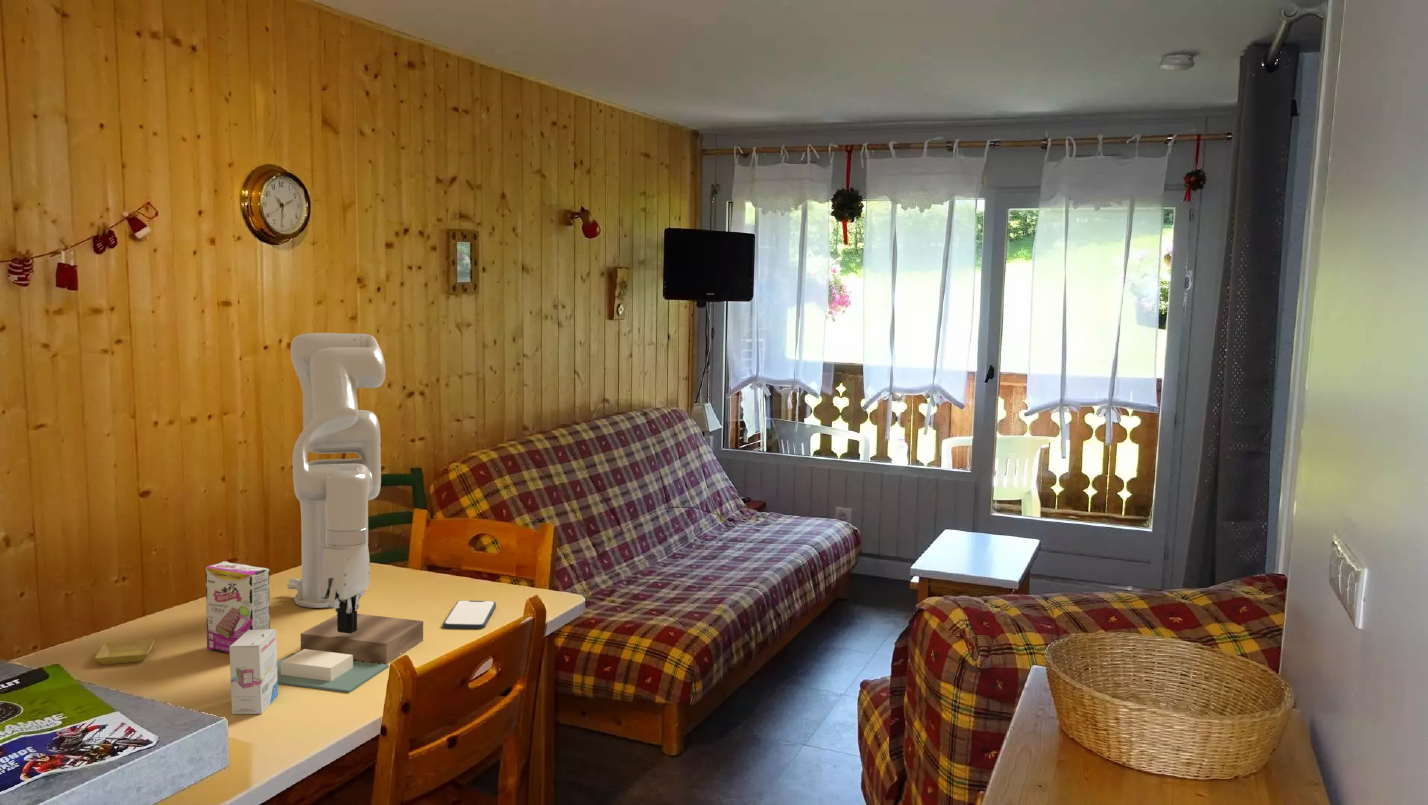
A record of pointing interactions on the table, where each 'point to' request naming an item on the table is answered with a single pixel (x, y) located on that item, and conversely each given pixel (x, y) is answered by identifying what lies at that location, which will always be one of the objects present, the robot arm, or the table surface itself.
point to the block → (366, 638)
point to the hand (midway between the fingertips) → (347, 631)
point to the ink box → (253, 671)
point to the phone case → (470, 615)
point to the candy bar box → (235, 602)
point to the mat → (341, 683)
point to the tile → (317, 664)
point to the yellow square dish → (124, 652)
